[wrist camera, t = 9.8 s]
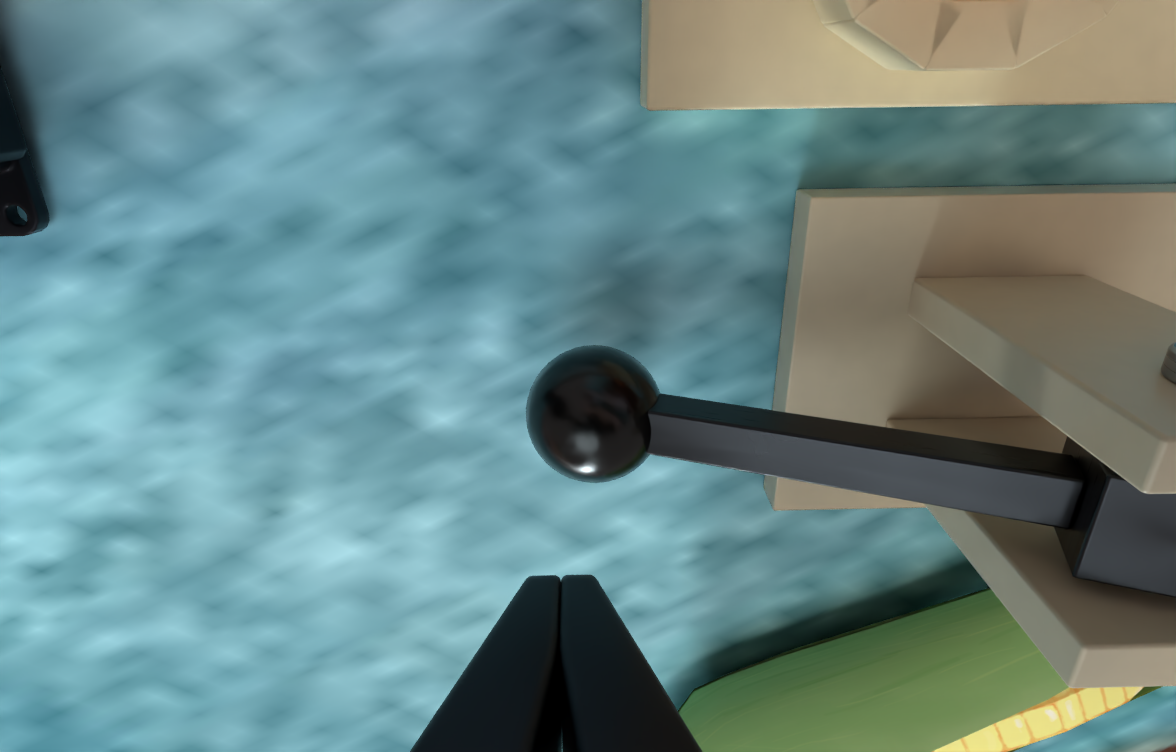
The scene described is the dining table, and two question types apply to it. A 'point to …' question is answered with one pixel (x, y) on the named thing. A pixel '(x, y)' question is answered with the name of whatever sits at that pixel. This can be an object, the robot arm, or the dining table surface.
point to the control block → (905, 53)
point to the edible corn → (901, 690)
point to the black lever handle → (852, 462)
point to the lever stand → (999, 371)
